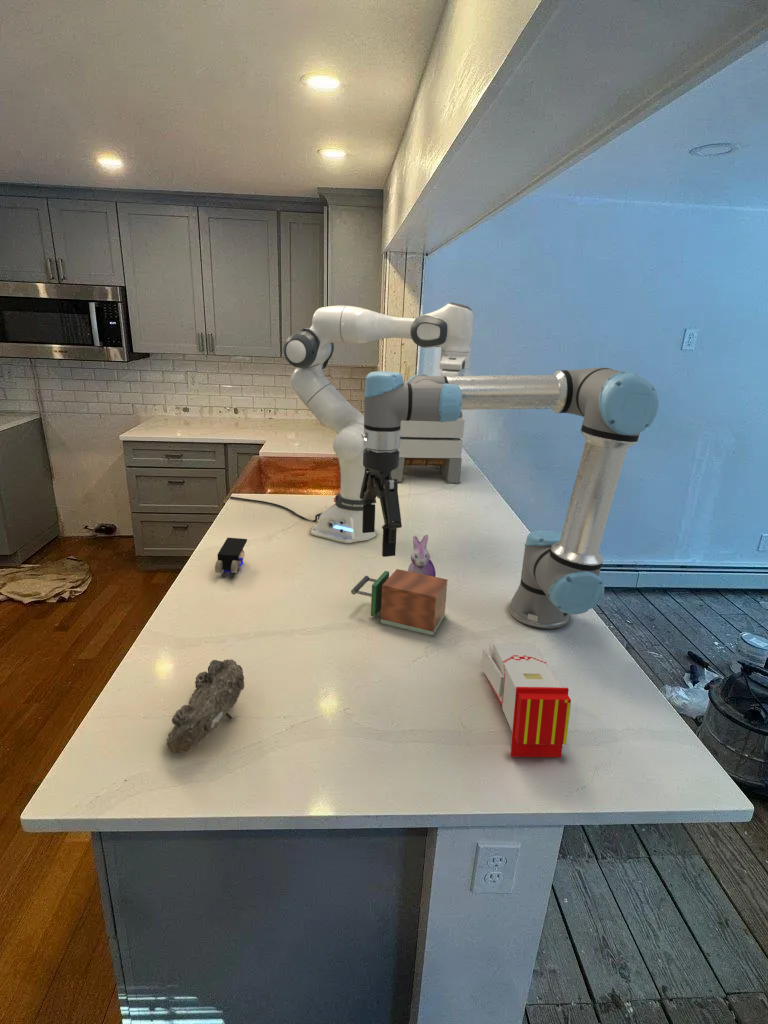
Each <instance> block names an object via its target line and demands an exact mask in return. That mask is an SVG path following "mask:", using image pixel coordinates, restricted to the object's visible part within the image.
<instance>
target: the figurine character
mask: <svg viewBox="0 0 768 1024" xmlns="http://www.w3.org/2000/svg"><path fill="white" fill-rule="evenodd" d="M247 542H248V538H240V537H226V539H225V541H224V543H223V544H222V546H221V547H220V549H219V551H218V552H217V560H216V562H215V564H214V572H215V573H221V577H222V578H224V577H225V576H226V574H227V573H230V574H231V573H232V574H231V578H234V577H235V575H236V573H237V572H239V571H240V567H242V566H243V565H244V564H245V562H244V558H245V551H244V547H245V546H246V544H247Z"/></svg>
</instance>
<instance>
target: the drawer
mask: <svg viewBox="0 0 768 1024" xmlns="http://www.w3.org/2000/svg"><path fill="white" fill-rule="evenodd" d="M389 577H390V571H389V570H385V571H384V572H382V573H381V574H380V575H379V577H378V578H377V579H375V578H371V577H369V576H368V575H364V576H363V578H361V580H360V581H359V582H358V583H357V584H356V585H355V586H354V587H353V588H352V589H351V590H350V593H351V595H353V596H354V595H356V594H357V595H361V596H366V597H370V598H371V600H370V617H374V618H376V616H377V615H378V614H379V613H380V612H381V604H382V585H383V584H384V583H385V582H386V581H387V579H388V578H389ZM368 582H372V584H371V593H370V592H367V591H362V590H361V589H362V588H363V587H364V586H365V585H366V584H367V583H368Z"/></svg>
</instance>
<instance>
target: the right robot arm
mask: <svg viewBox="0 0 768 1024" xmlns="http://www.w3.org/2000/svg"><path fill="white" fill-rule="evenodd" d="M365 376H366V377H365V384H364V394H363V401H364V402H363V412H364V413H363V415H364V434H362V438H364V447H365V449H364V450H363V466H364V467H365V473H364V478H363V482H362V487H361V492H360V499H362V503H363V504H364V505H363V525H362V532H363V533H370V532H376V528H375V527H376V504H377V503H378V502H377V499H379V502H380V507H381V508H380V509H381V513H382V517H383V522H384V524H383V525H382V526H381V529H382V543H381V544H382V547H381V556H382V557H383V558H386V557H396V551H397V530H398V529H401V528H402V526H403V524H402V523H403V522H402V516H401V508H400V507H401V506H400V501H399V500H400V499H399V492H398V489H399V487H398V483H399V482H398V481H397V479H392V477H391V471H392V470H395V469H397V468H398V466H399V451H398V450H397V449H398V448H399V447H400V435H401V428H400V427H401V421H436V422H447V421H456V420H457V419H458V418H459V416H460V413H461V412H462V411H464V410H465V411H466V410H467V411H468V410H469V411H470V410H471V411H472V410H473V411H474V410H477V411H479V410H552V412H553V413H554V414H568V415H569V414H570V415H575V416H579V417H582V418H583V420H582V422H581V423H582V425H581V428H580V433H581V435H582V437H583V438H584V440H585V442H584V446H583V450H582V453H581V457H580V461H579V466H578V470H577V473H576V477H575V480H574V484H573V489H572V493H571V496H570V500H569V504H568V508H567V513H566V516H565V519H564V524H563V527H562V531H556V530H535V531H531V532H529V534H527V536H526V539H525V543H524V552H523V559H522V567H521V575H520V581H519V586H518V587H517V588H516V591H515V593H514V595H513V597H512V598H511V601H510V603H509V613H510V616H511V617H512V618H513V619H515V620H516V621H517V622H519V623H520V624H523V625H525V626H529V627H531V628H534V629H535V628H536V629H541V630H556V629H560V628H562V627H565V626H566V625H567V624H568V623H569V620H570V615H581V614H585V613H588V611H589V610H592V609H594V608H595V607H596V606H598V605H599V603H600V602H601V601H602V599H603V597H604V595H605V585H604V583H603V579H602V578H601V576H600V573H601V569H602V566H603V562H604V558H603V556H602V555H601V553H600V551H599V550H600V546H601V544H602V540H603V537H604V532H605V529H606V525H607V523H608V518H609V514H610V511H611V508H612V504H613V501H614V498H615V494H616V490H617V487H618V484H619V480H620V476H621V472H622V470H623V465H624V463H625V459H626V455H627V452H628V449H629V448H631V447H632V446H634V445H635V444H637V443H638V441H639V438H640V435H641V433H642V432H645V430H646V429H647V428H649V427H650V426H651V425H652V424H653V423H654V421H655V419H656V418H657V415H658V412H659V405H660V402H659V395H658V392H657V389H655V387H654V385H653V384H652V383H651V382H650V381H649V380H648V379H647V378H645V377H643V376H640V375H638V374H637V373H634V372H630V371H622V370H617V369H613V368H610V367H603V366H601V367H589V368H580V369H579V368H578V369H559V370H556V371H555V372H554V373H553V374H522V375H521V374H519V375H516V374H515V375H513V374H512V375H505V374H503V375H464V376H441V375H440V376H439V375H427V374H415V375H413V376H411V377H409V378H408V379H407V381H406V382H405V381H404V376H403V374H402V373H401V372H397V371H385V370H382V371H381V370H380V371H378V370H377V371H371V372H369V373H368V374H367V375H365ZM364 493H365V494H364ZM376 498H377V499H376ZM372 503H374V504H372Z"/></svg>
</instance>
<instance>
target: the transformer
mask: <svg viewBox="0 0 768 1024" xmlns="http://www.w3.org/2000/svg"><path fill="white" fill-rule="evenodd" d="M400 428H401V435H400V447H399V448H398V449H397V450H398V451H399V466H398V468H397V469H395V470H392V471H391V477H392V479H397V481H398V483H402V482H403V475H404V469H405V466H406V467H407V466H411V467H412V466H413V467H415V466H416V467H417V466H418V467H436V468H437V470H438V469H439V473H440V474H441V475H443V478H444V479H445V481H446V482H447V483H449V484H455V483H456V484H459V483H461V472H462V461H463V460H462V453H463V442H464V441H463V440H462V439H463V438H464V431H465V430H464V429H465V419H464V418H463V411H461V413H460V416H459V418H458V419H457V420H456V421H447V422H436V421H401V427H400Z"/></svg>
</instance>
